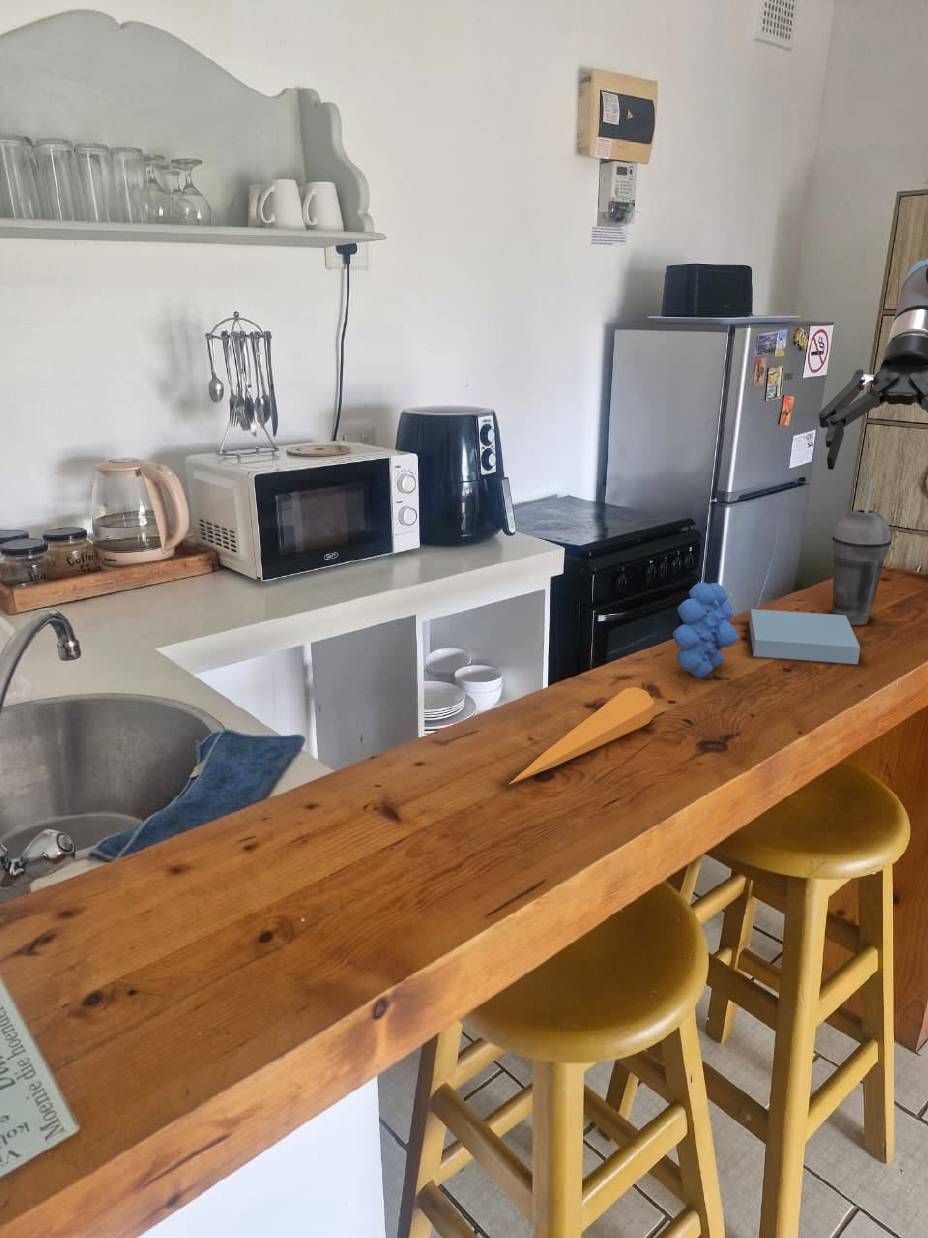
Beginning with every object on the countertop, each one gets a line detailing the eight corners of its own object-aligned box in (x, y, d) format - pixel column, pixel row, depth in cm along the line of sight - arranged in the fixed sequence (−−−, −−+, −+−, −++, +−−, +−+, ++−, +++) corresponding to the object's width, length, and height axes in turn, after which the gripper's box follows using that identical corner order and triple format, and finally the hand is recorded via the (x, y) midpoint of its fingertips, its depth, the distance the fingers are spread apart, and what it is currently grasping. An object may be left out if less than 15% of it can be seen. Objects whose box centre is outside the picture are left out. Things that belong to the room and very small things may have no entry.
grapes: (710, 703, 95) (719, 599, 91) (656, 687, 100) (662, 587, 96) (756, 671, 103) (766, 575, 99) (703, 658, 108) (711, 565, 104)
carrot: (635, 722, 93) (622, 683, 92) (667, 720, 89) (653, 680, 89) (501, 806, 81) (484, 761, 81) (531, 808, 77) (515, 762, 77)
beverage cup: (874, 614, 122) (895, 472, 115) (883, 632, 115) (906, 482, 109) (819, 611, 124) (836, 471, 117) (824, 628, 117) (843, 480, 111)
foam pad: (843, 632, 115) (845, 615, 115) (857, 666, 104) (860, 647, 104) (749, 626, 118) (750, 608, 118) (753, 658, 107) (755, 639, 107)
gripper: (1009, 369, 124) (982, 491, 117) (825, 366, 137) (791, 476, 130) (1014, 331, 118) (986, 457, 112) (822, 332, 131) (786, 444, 124)
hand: (881, 467), depth 121 cm, fingers open, 13 cm apart
